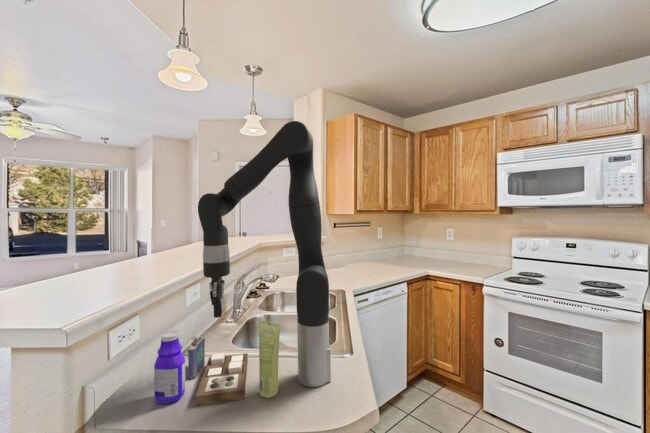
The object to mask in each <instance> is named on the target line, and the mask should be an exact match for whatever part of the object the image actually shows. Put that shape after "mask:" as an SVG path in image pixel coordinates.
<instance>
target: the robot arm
mask: <svg viewBox="0 0 650 433" xmlns="http://www.w3.org/2000/svg"><path fill="white" fill-rule="evenodd" d="M313 138H314V137H313V135H312V133H311V131H310V130H309V128H308V127H307V125H306V124H304V123H303V122H302V121H299V120H292V121H288V122H286V123H285V124H284V125H283V126H282V127H281V128H280V129H279V130H278V131H277V132H276V133H275V135H274V136H273V137H272V138H271V139H270V140H269V142H268V143H267V144H266V145H265V146H264V147H263V148H262V149H261V150H259V152H258V153H257V154H255V156H254V157H253V158H252V159H250V160H249V161H248V162H247V163H246V164H245V165H244V166H242V167H241V168H240V169H239V170H237V171H236V172H235V173H234V174H233V175H231V176H230V177H229V178H227V180H226V181H225V182H224V184H223V188H222V189H221V190H220V191H219V192H218V193H205V194H202V196H201V197H200V198H199V200H198V204H197V213H198V218H199V223H200V226H201V228H202V231H203V232H202V233H203V234H202V235H203V236H202V237H203V240H202V241H203V249H202V265H203V266H202V268H203V270H202V271H203V273H202V274H203V276H204V277H205V278H208V279H209V278H211V281H210V282H209V284H208V285H209V286H208V287H209V290H210V291H209V296H210V302H211V306H213V317H214V318H216V319H217V318H221V317H222V315H223V302H224V301H223V299H224V293H225V284H226V283H225V282H226V281H225V279H223V277H226V276H229V274H230V273H231V266H230V264H231V263H230V262H231V261H230V260H231V259H230V248H229V232H228V227H227V226H226V225H225V224H223V217H224V216H227V215H228V214H229V213H230V212H232V211H233V210H234V209H235V208H236V206H237V205H238V204H239V203H240V201H242V199H243V198H245V197H246V196H248V195H249V194H250V193H252V191H254V190H255V189H256V188H258V187H259V185H261V183H262V182H264V180H265V179H267V177H268V175H269V174H270V173H271V172H272V171H273V169H275V168H276V167H277V166H278V165H279V164H280V163H282V162H284V161H285V160H286V159H287V160H288V166H289V175H290V178H289V180H290V181H289V188H288V210H289V211H288V212H289V220H290V224H291V225H290V226H291V230H292V235H293V237H294V241H295V244H296V248H297V255H298V256H297V257H298V276H297V279H296V283H295V284H296V294H295V295H296V298H295V299H296V314H297V315H296V316H297V319H296V320H297V324H296V325H297V380H298V382H299V384H301V385H302V386H304V387H307V388H316V387H317V388H318V387H322V386H324V385H325V384H327V383H330V382H331V381H332V366H331V364H332V362H331V361H332V360H331V356H332V354H331V352H332V351H331V347H330V343H329V342H330V340H329V338H330V336H329V334H330V333H329V332H330V331H329V326H330V325H329V320H330V318H329V314H330V284H329V277H328V274H327V270H326V265H325V261H324V257H323V250H322V234H323V233H322V231H323V230H322V212H321V205H320V197H319V192H318V191H319V190H318V185H317V182H316V177H315V170H314V139H313Z"/></svg>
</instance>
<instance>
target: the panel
mask: <svg viewBox="0 0 650 433" xmlns="http://www.w3.org/2000/svg"><path fill="white" fill-rule="evenodd" d="M237 355H243V362H242V373H236V374H229V370H228V368H229V364H230V362H231V358H232V356H237ZM248 357H249V356H248V352H247V353H240V354H239V353H238V354H231V355H230V354H229V355H225V362H224V364H219V365H211V358H212V356H211V357H208V360H207V363H206V364H205V365H206V366H205V368H204V371H203V374H202V377H201V380H200V383H199V385H198V389H197V391H196V394H195V407H196V406H204V405H210V404H218V403H224V402H232V401H239V400H245V399H246V398H245V396H246V387H247V385H246V384H247V374H248V371H247V370H248V363H249V362H248V361H249V360H248ZM221 367H222V375H220V376H212V377H207V375H208V372H209V369H212V368H221Z"/></svg>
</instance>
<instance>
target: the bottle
mask: <svg viewBox="0 0 650 433" xmlns="http://www.w3.org/2000/svg"><path fill="white" fill-rule="evenodd" d="M160 338H161V339H160V346H159V348H158V349H157V357H156V358H155V359H156V360H155V362H154V364H153V367H154V370H153V371H154V372H153V373H154V375H153V376H154V378H153V380H154V385H153V386H154V388H153V390H154V395H153V396H154V399H155V401H156V403H159V404H172V403H176V402H178V401H180V399H181V398H182V397H183V396H184V393H185V391H186V358H185V355H184V353H183V352H182V349H183V346H182V345H181V343H180V340H179V331H177V330H168V331H165V332H163V333H162V334H161V335H160Z"/></svg>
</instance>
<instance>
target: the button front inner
mask: <svg viewBox="0 0 650 433" xmlns="http://www.w3.org/2000/svg"><path fill="white" fill-rule="evenodd" d="M228 370H229V374H236V373H242V361H236V362H230V364H229V368H228Z"/></svg>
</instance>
